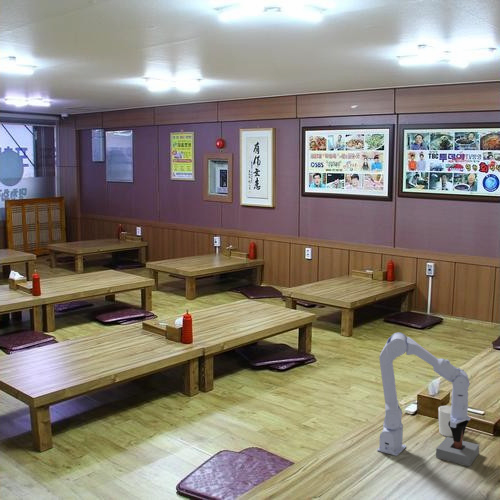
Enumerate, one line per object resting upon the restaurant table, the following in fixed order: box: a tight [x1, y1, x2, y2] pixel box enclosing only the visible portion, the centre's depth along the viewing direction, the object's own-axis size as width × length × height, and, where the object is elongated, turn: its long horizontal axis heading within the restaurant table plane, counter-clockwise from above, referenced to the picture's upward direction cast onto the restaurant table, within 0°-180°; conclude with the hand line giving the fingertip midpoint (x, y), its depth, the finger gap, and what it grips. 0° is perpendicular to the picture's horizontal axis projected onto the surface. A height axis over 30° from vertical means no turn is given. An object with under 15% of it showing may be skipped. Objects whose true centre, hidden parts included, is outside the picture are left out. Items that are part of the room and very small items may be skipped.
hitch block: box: [435, 436, 480, 467], centre depth 223 cm, size 12×12×4 cm
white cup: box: [438, 405, 453, 438], centre depth 241 cm, size 8×8×10 cm
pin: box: [454, 431, 464, 449], centre depth 222 cm, size 3×3×8 cm
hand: (458, 439), depth 222 cm, fingers closed on pin, 3 cm apart
